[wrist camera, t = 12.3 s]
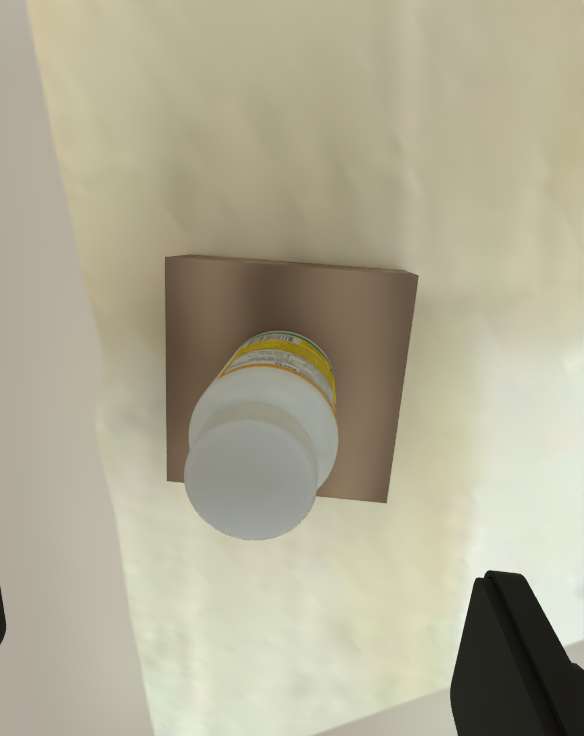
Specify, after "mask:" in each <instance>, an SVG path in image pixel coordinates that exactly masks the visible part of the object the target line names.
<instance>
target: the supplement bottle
mask: <svg viewBox="0 0 584 736" xmlns="http://www.w3.org/2000/svg"><path fill="white" fill-rule="evenodd" d="M189 447H190V451H189V454H188V456H187V460H186V463H185V469H184V482H185V488H186V492H187V495H188V497H189V500H190V502H191V504H192V505H193V507H194V509H195V510H196V511H197V513H198V514H199V515H200V516H201V517H202V518H203V519H204V520H205V521H206V522H207V523H208V524H210V525H211V526H212V527H214V528H215V529H217V530H219V531H221V532H222V533H225V534H227V535H230V536H233V537H236V538H240V539H244V540H264V539H270V538H275V537H277V536H280V535H282V534H285V533H287V532H288V531H290V530H292V529H293V528H294V527H296V526H297V525H298V524H299V523H300V522H301V521H302V520H303V519H304V518H305V517H306V515H307V514H308V513H309V511H310V509H311V507H312V505H313V503H314V500H315V497H316V492H317V489H318V488H319V487H320V486H321V485H322V484H323V483H324V481H325V480H326V479H327V477H328V475H329V474H330V472H331V470H332V468H333V465H334V462H335V459H336V455H337V449H338V422H337V408H336V391H335V380H334V373H333V369H332V366H331V363H330V361H329V359H328V358H327V356H326V355H325V353H324V352H323V351H322V350H321V349H320V348H319V347H318V346H317V345H316V344H315V343H314V342H313V341H311V340H310V339H308V338H306V337H304V336H302V335H300V334H297V333H293V332H288V331H270V332H265V333H262V334H259V335H256V336H254V337H252V338H251V339H249V340H247V341H246V342H245V343H244V344H243V345H242V346H240V347H239V349H238V350H237V351H236V352H235V354H234V355H233V356H232V357H231V359H230V360H229V361H228V363H227V364H226V365H225V367H224V368H223V369H222V371H221V372H220V373H219V375H218V376H217V377H216V378H215V380H214V381H213V382H212V383H211V385H210V386H209V387H208V388H207V390H206V391H205V392H204V394H203V395H202V396H201V398H200V399H199V401H198V403H197V404H196V406H195V409H194V411H193V414H192V417H191V421H190V426H189Z"/></svg>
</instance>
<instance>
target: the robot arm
mask: <svg viewBox="0 0 584 736" xmlns="http://www.w3.org/2000/svg"><path fill="white" fill-rule="evenodd" d="M5 632H6V620H5V614H4V608H3V601H2V595H1V588H0V644H1V642H2V640H3V638H4V635H5ZM450 699H451V708H452V713H453V717H454V721H455V725H456V729H457V733H458V736H584V670H583V669H582V668H581V667H580V666H578V665H577V664H575V663H571V661H570V660H569V658H568V656H567V654H566V652H565V650H564V648H563V646H562V645H561V643H560V641H559V639H558V637H557V635H556V634H555V632H554V630H553V628H552V626H551V624H550V622H549V621H548V619H547V617H546V615H545V613H544V611H543V610H542V608H541V606H540V604H539V602H538V600H537V598H536V597H535V595H534V593H533V591H532V589H531V587H530V586H529V584H528V582H527V580H526V579H525V577H524V576H523V575H521V574H517V573H509V572H500V571H492V570H489V571H487V572H486V573H485V576H484V578H476V579H475V582H474V585H473V590H472V594H471V598H470V603H469V607H468V612H467V616H466V620H465V625H464V629H463V634H462V638H461V642H460V647H459V651H458V656H457V660H456V664H455V669H454V673H453V678H452V682H451V688H450Z"/></svg>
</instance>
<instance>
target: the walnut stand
mask: <svg viewBox="0 0 584 736" xmlns="http://www.w3.org/2000/svg"><path fill="white" fill-rule="evenodd" d="M417 283H418V275H415V274H413V273H410V272H407V271H405V270H392V269H378V268H365V267H351V266H337V265H324V264H310V263H296V262H283V261H269V260H255V259H242V258H228V257H214V256H200V255H182V256H172V257H165V307H166V423H167V481H172V482H182V483H185V482H184V469H185V463H186V460H187V456H188V454H189V451H190V447H189V426H190V421H191V417H192V414H193V411H194V409H195V406H196V404H197V403H198V401H199V399H200V398H201V396H202V395H203V394H204V392H205V391H206V390H207V388H208V387H209V386H210V385H211V383H212V382H213V381H214V380H215V378H216V377H217V376H218V375H219V373H220V372H221V371H222V369H223V368H224V367H225V365H226V364H227V363H228V361H229V360H230V359H231V357H232V356H233V355H234V354H235V352H236V351H237V350H238V349H239V347H240V346H242V345H243V344H244V343H245V342H246V341H247V340H249V339H251V338H252V337H254V336H256V335H259V334H262V333H265V332H270V331H288V332H293V333H297V334H300V335H302V336H304V337H306V338H308V339H310V340H311V341H313V342H314V343H315V344H316V345H317V346H318V347H319V348H320V349H321V350H322V351H323V352H324V353H325V355H326V356H327V358H328V359H329V361H330V363H331V366H332V369H333V373H334V380H335V391H336V408H337V422H338V449H337V455H336V459H335V462H334V465H333V468H332V470H331V472H330V474H329V475H328V477H327V479H326V480H325V481H324V483H323V484H322V485H321V486H320V487H319V488H318V489H317V492H316V496H320V497H330V498H340V499H350V500H360V501H370V502H380V503H387V496H388V489H389V482H390V475H391V468H392V460H393V453H394V446H395V439H396V432H397V425H398V418H399V411H400V404H401V397H402V390H403V383H404V375H405V368H406V361H407V354H408V347H409V340H410V333H411V326H412V319H413V312H414V305H415V298H416V290H417Z"/></svg>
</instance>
